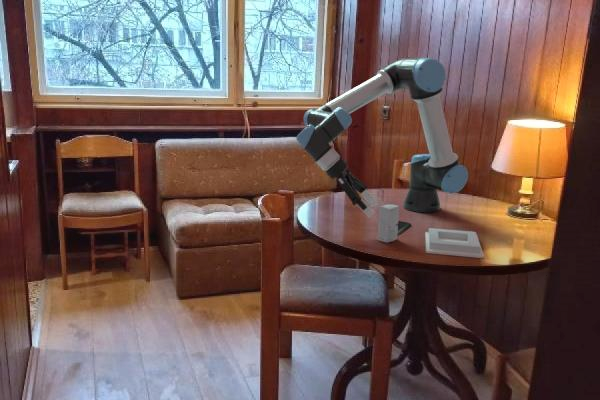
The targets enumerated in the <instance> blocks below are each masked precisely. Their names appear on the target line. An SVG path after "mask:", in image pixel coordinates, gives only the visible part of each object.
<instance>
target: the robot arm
mask: <svg viewBox="0 0 600 400" xmlns="http://www.w3.org/2000/svg"><path fill="white" fill-rule="evenodd" d="M446 77H447V76H446V70H445V67H444V65H443V63H441V62H440V60H437V59H436V58H433V57H428V56H427V57H411V56H410V57H403V58H399V59H398V60H396V61H393V62H392V63H390V64H388V65H386V66H385V67H383V68H380V69H379V70H377V72H376V75H375V76H373V77H371V78H369V79H367V80H366V81H364V82H362V83H361V84H359V85H357V86H355V87H353V88H351V89H350V90H348V91H346V92H344V93H343V94H340V95H339V96H338V97H336V98H334V99H332V100H331V101H329V102H327V103H325V104H323V105H322V106H320V107H318V108H311V109H308V110H307V111H305V113H304V115H303V123H304V125H305V126H306V127H305V128H304V129H302V130H301V131H300V132H299V133H298V134H297V136H296V142H297V143H299V146H301V148H302V149H303V150H304V152H306V153H307V154H308V155H309V156H310V157H311V159H313V161H315V163H316V164H317V167H318V168H321V169H322V171H325V174H326V176H328V177H329V179H331V180H334V179H336V178H337V180H336V182H337V184H338V185H339V186H340V187H341V189H342V190H343V191H344V193H345V194H346V196H347V197H348V199H349V200H350V201H351V203H352V204H351V205H352V206H355V205H356V206H357V207H358V208H359V209H360V210H361V211H362V212H363V214H364V215H365V216H366V217H367V218H368V219H370V218H371V217H373V216H374V215H376V212H375V210H373V209H374V207H376V205H378V204H379V202H378V201H377V199H376V198H375V197H374V196H373V195H372V194H371V192H370V191H368V186H367V185H366V184H364V183H363V182H362V181H360V180H359V179H358V178H357V177H356V176H355V174H353V173H352V172H351V171H350V170H349V169H348V167H349V166H348V163H347V162H346V161H345V160H344V159H343V158H342V157H341V156H340V154H339V153H338V152H337V151H336V150H335V148H333V146H332V145H331V143H332V142H333V141H334V140H336V138H337V137H339V136H340V135H341V134H342V133H343V132H344V131H346V130H347V129H348V128H349V126H351V124H352V122H353V119H352V117H351V115H350V114H352V113H353V112H355V111H358V109H361V108H362V107H364V106H365V105H368V104H369V103H371V102H372V101H375V100H376V99H378V98H379V97H381V96H383V95H385V94H389V95H391V93H393V92H395V91H399V90H408V91H409V94H410V99H411V100H412V101H414V102H416V104H417V105H416V106H417V109H418V113H419V117H420V121H421V125H422V129H423V133H424V138H425V141H426V145H427V149H428V153H422V154H414V155H413V156H412V157H411V161H410V172H409V187H408V191H407V193H406V195H405V198H404V200H403V208H404V209H406V210H408V211H413V212H415V213H436V212H439V211H440V210H441V202H440V197H439V193H438V190H439V191H441V192H443V193H448V194H457V193H459V192H460V191H462V189H463V188H464V187H465V186H466V184H467V181H468V178H469V173H468V169H467V167H465V166H464V165H463V164H460V160H459V155H458V154H457V153H455V152H453V148H452V143H451V139H450V135H449V129H448V125H447V121H446V117H445V114H444V113H445V112H444V108H443V105H442V104H443V103H442V100H441V94H442V93H443V86H444V84H445V81H446ZM359 193H360V194H359ZM361 197H362V198H361Z"/></svg>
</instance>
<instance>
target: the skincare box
mask: <svg viewBox="0 0 600 400" xmlns="http://www.w3.org/2000/svg"><path fill="white" fill-rule="evenodd" d="M399 215H400V206H399V205H396V204H391V203H388V204H384V205H380V206H379V214H378V229H377V230H378V231H377V232H378V233H377V240H378V241H380V242H383V243H390V242H394V241H397V240H398V235H397V233H398V221H399V218H400V217H399Z"/></svg>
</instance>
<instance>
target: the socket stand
mask: <svg viewBox="0 0 600 400" xmlns="http://www.w3.org/2000/svg"><path fill="white" fill-rule="evenodd" d="M424 236H425V237H424V238H425V239H424V241H425V253H426V254H433V255H434V254H435V255H444V256H445V255H446V256H455V257H457V256H458V257H465V258H466V257H467V258H477V259H478V258H479V259H485V255H484V252H483V249H482V247H481V243H480V240H479V238H478V234H477V232H476V231H470V230H469V231H468V230H458V229H443V228H435V227H434V228H433V227H429V228H428V231H425V232H424Z"/></svg>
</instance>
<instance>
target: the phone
mask: <svg viewBox="0 0 600 400" xmlns="http://www.w3.org/2000/svg"><path fill="white" fill-rule="evenodd" d="M411 225H412V223H411V222H406V221H401V220H398V233H397V236H398V235H399V236H400V234H402V233H403V232H404V231H405V230H407V229H408V228H410V227H411Z"/></svg>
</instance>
